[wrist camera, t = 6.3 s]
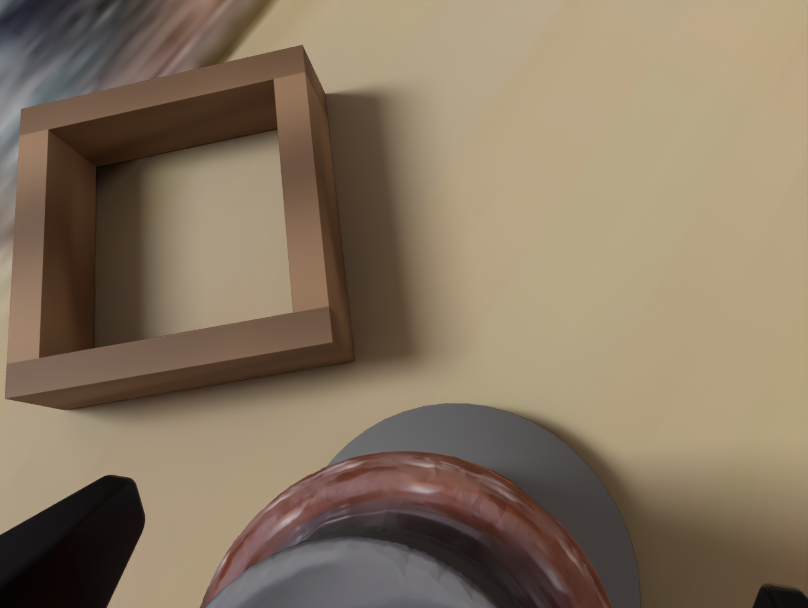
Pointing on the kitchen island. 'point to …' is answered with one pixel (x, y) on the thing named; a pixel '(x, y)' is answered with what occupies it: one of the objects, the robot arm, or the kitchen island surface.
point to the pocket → (75, 234)
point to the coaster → (521, 477)
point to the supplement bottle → (405, 543)
